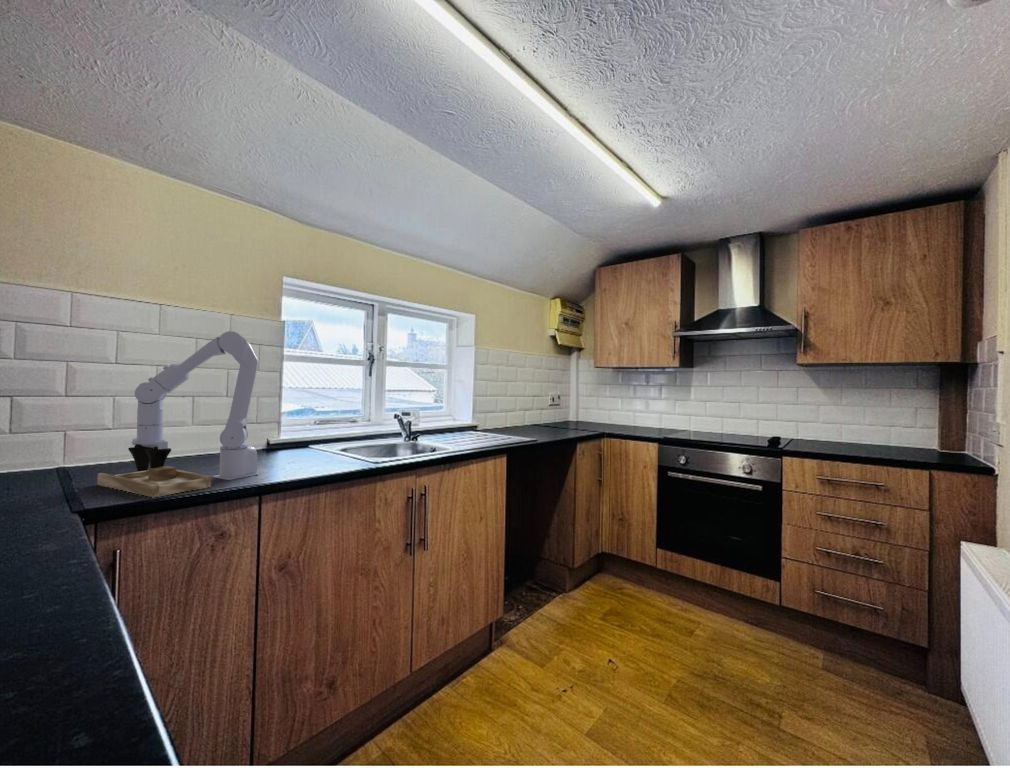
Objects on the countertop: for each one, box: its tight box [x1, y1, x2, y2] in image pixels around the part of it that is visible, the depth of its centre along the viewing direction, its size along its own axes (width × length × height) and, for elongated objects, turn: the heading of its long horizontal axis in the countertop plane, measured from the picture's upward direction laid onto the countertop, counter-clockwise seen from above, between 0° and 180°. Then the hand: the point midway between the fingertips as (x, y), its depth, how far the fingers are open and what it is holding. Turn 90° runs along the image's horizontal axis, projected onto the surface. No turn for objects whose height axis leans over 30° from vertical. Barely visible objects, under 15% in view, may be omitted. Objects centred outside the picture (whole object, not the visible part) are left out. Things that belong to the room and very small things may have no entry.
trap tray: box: [96, 469, 212, 497], centre depth 117 cm, size 13×28×3 cm, turn 64°
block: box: [148, 465, 177, 481], centre depth 119 cm, size 4×4×3 cm
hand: (149, 472), depth 122 cm, fingers open, 7 cm apart
